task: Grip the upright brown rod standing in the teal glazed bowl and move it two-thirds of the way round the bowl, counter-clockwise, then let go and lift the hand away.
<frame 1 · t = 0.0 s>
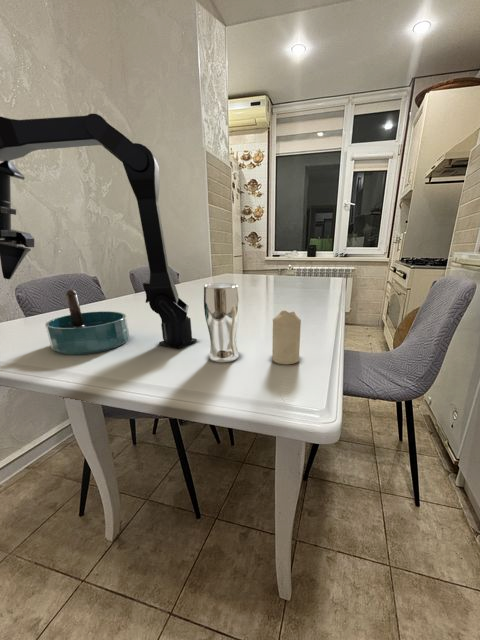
candle: (285, 360, 60), on the table
beer glass: (224, 357, 62), on the table
brown rod: (77, 322, 70), point 5 cm above the table, hinge at 0.0°
bowl: (93, 343, 70), on the table
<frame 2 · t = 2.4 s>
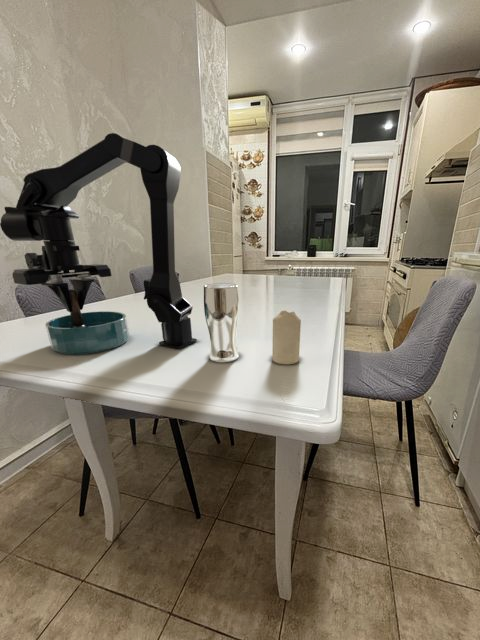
hand: (75, 310, 69), 8 cm above the table, tool pointing down, fingers closed on brown rod, 2 cm apart
brown rod: (77, 322, 70), point 5 cm above the table, hinge at 0.0°, touching gripper
everything else where it was.
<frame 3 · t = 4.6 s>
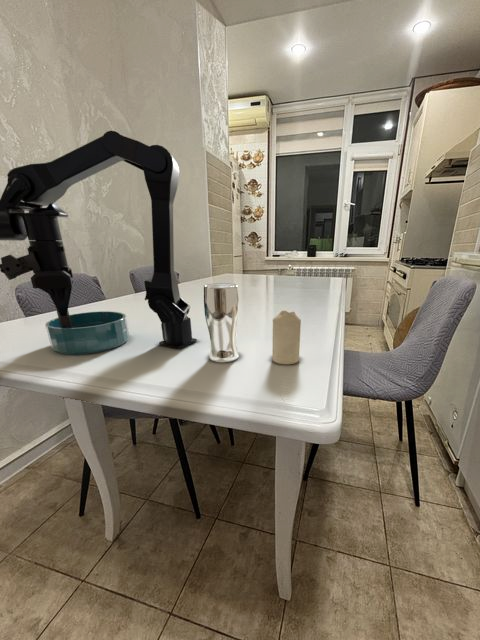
hand: (63, 314, 65), 8 cm above the table, tool pointing down, fingers closed on brown rod, 2 cm apart
brown rod: (66, 326, 66), point 5 cm above the table, hinge at 55.3°, touching gripper
everything else where it was.
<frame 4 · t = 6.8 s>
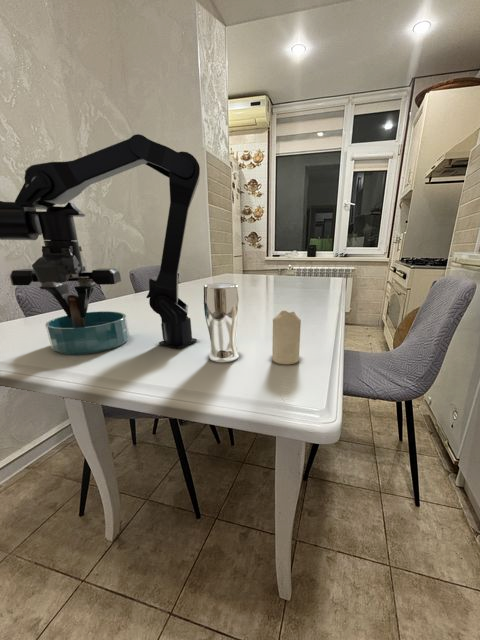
hand: (77, 317, 63), 8 cm above the table, tool pointing down, fingers closed on brown rod, 2 cm apart
brown rod: (80, 329, 64), point 5 cm above the table, hinge at 126.2°, touching gripper
everything else where it was.
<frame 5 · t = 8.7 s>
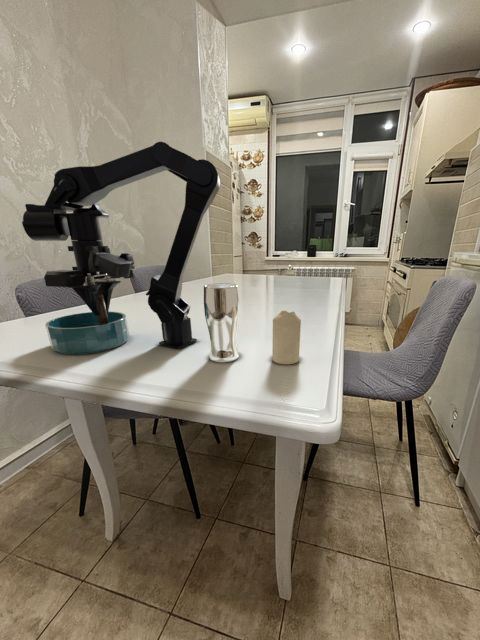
hand: (101, 314, 66), 8 cm above the table, tool pointing down, fingers closed on brown rod, 2 cm apart
brown rod: (104, 326, 67), point 5 cm above the table, hinge at 190.8°, touching gripper
everything else where it was.
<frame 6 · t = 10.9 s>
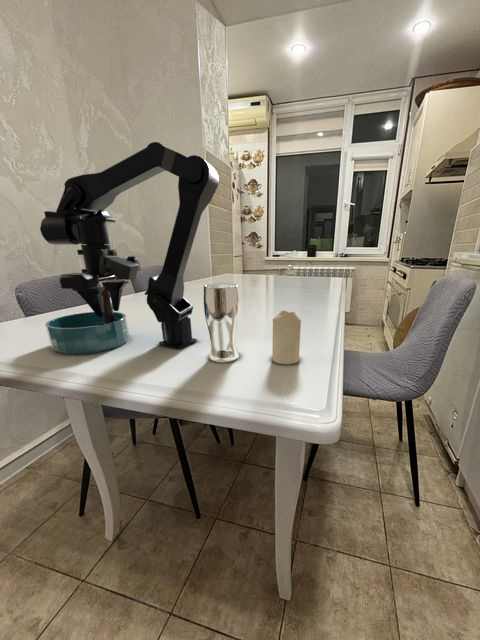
hand: (108, 313, 70), 7 cm above the table, tool pointing down, fingers open, 6 cm apart
brown rod: (110, 321, 70), point 5 cm above the table, hinge at 240.4°
everything else where it was.
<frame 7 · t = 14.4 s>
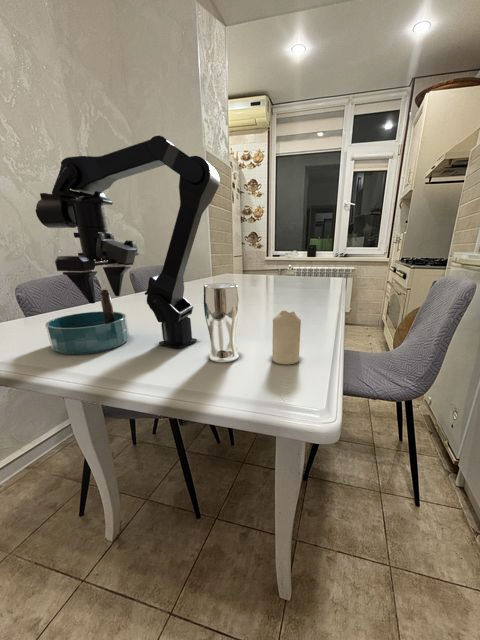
hand: (105, 299, 68), 10 cm above the table, tool pointing down, fingers open, 9 cm apart
nothing on the table moved.
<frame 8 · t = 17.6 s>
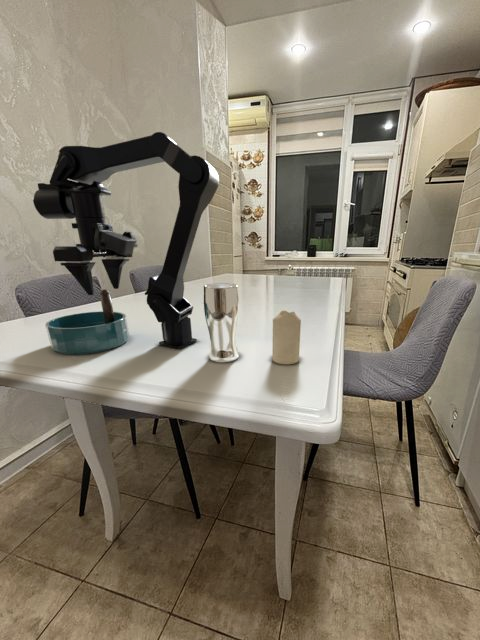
hand: (104, 291, 68), 12 cm above the table, tool pointing down, fingers open, 9 cm apart
nothing on the table moved.
at the end: brown rod at +240° (first picture: +0°); the gripper is holding nothing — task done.
